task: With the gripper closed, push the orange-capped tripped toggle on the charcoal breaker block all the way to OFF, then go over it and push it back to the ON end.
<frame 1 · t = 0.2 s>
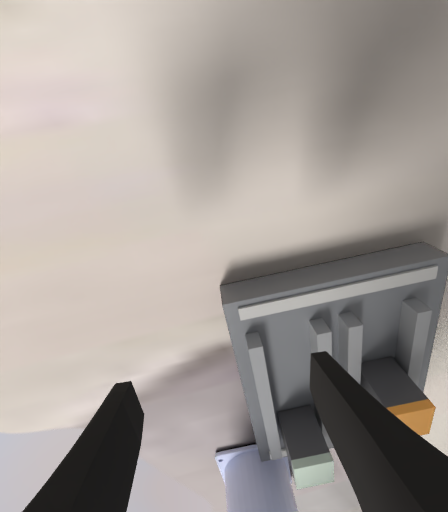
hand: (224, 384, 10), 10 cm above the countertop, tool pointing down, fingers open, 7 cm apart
breaker toggle: (389, 396, 20), point 5 cm above the countertop, slide at 0.0 cm
breaker block: (324, 356, 24), on the countertop
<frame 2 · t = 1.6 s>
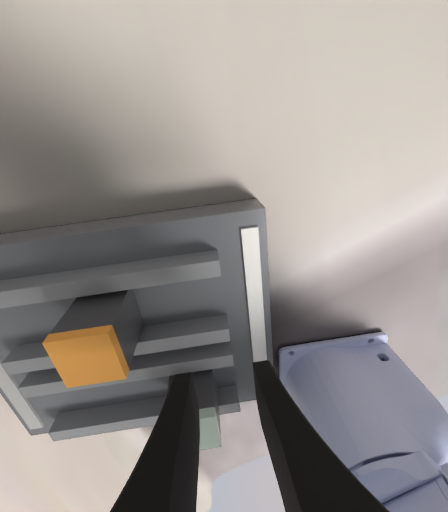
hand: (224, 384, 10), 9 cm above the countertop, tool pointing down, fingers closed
breaker toggle: (102, 330, 14), point 5 cm above the countertop, slide at 0.0 cm
breaker block: (135, 318, 20), on the countertop
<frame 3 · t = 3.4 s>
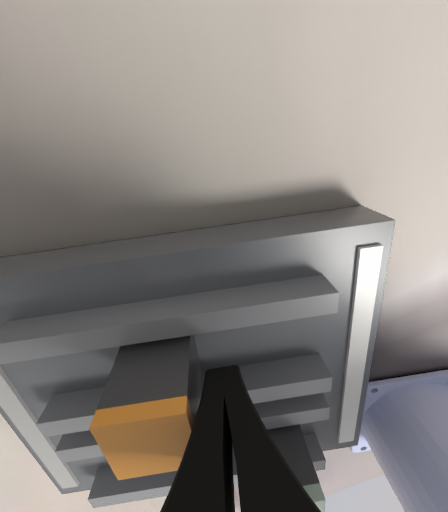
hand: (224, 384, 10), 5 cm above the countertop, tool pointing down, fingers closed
breaker toggle: (159, 390, 11), point 5 cm above the countertop, slide at 0.7 cm, touching gripper
breaker block: (192, 353, 16), on the countertop
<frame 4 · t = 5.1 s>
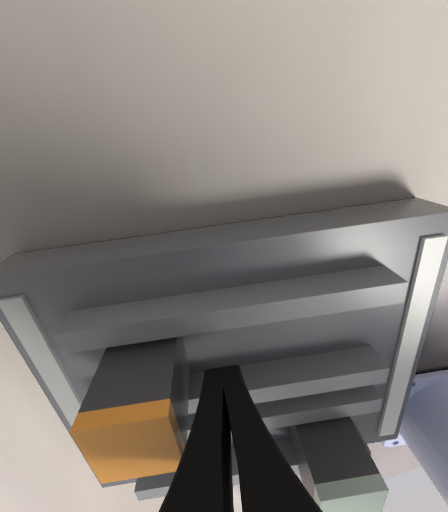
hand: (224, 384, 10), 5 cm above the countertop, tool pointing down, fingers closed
breaker toggle: (144, 392, 11), point 5 cm above the countertop, slide at 4.1 cm
breaker block: (235, 346, 16), on the countertop
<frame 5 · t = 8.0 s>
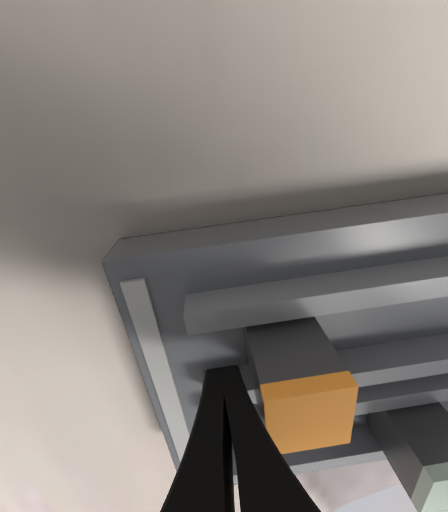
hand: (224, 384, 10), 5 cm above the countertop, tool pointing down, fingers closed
breaker toggle: (289, 370, 11), point 5 cm above the countertop, slide at 3.1 cm, touching gripper
breaker block: (314, 334, 16), on the countertop
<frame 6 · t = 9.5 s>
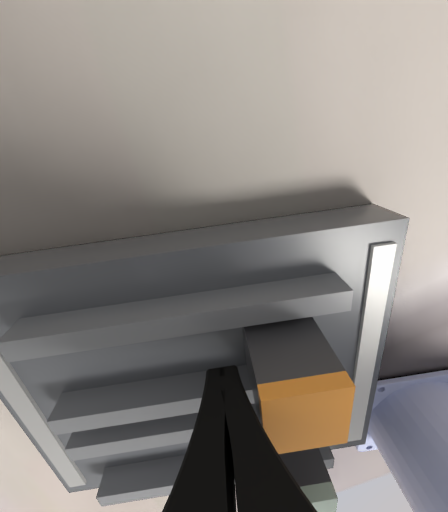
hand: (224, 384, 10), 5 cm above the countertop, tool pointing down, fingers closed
breaker toggle: (287, 370, 11), point 5 cm above the countertop, slide at -4.1 cm, touching gripper
breaker block: (200, 351, 16), on the countertop
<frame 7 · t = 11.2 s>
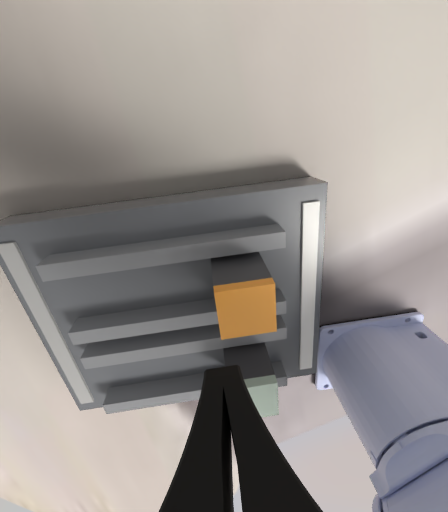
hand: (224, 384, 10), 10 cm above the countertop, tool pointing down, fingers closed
breaker toggle: (240, 289, 15), point 5 cm above the countertop, slide at -4.1 cm
breaker block: (184, 296, 21), on the countertop
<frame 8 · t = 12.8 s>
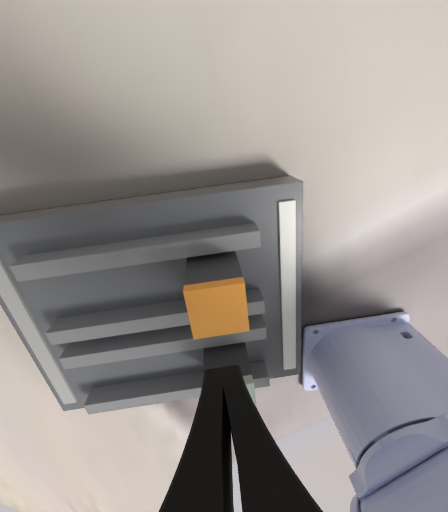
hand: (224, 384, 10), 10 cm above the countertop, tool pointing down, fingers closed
breaker toggle: (215, 289, 15), point 5 cm above the countertop, slide at -4.1 cm
breaker block: (166, 296, 21), on the countertop
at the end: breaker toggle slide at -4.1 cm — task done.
